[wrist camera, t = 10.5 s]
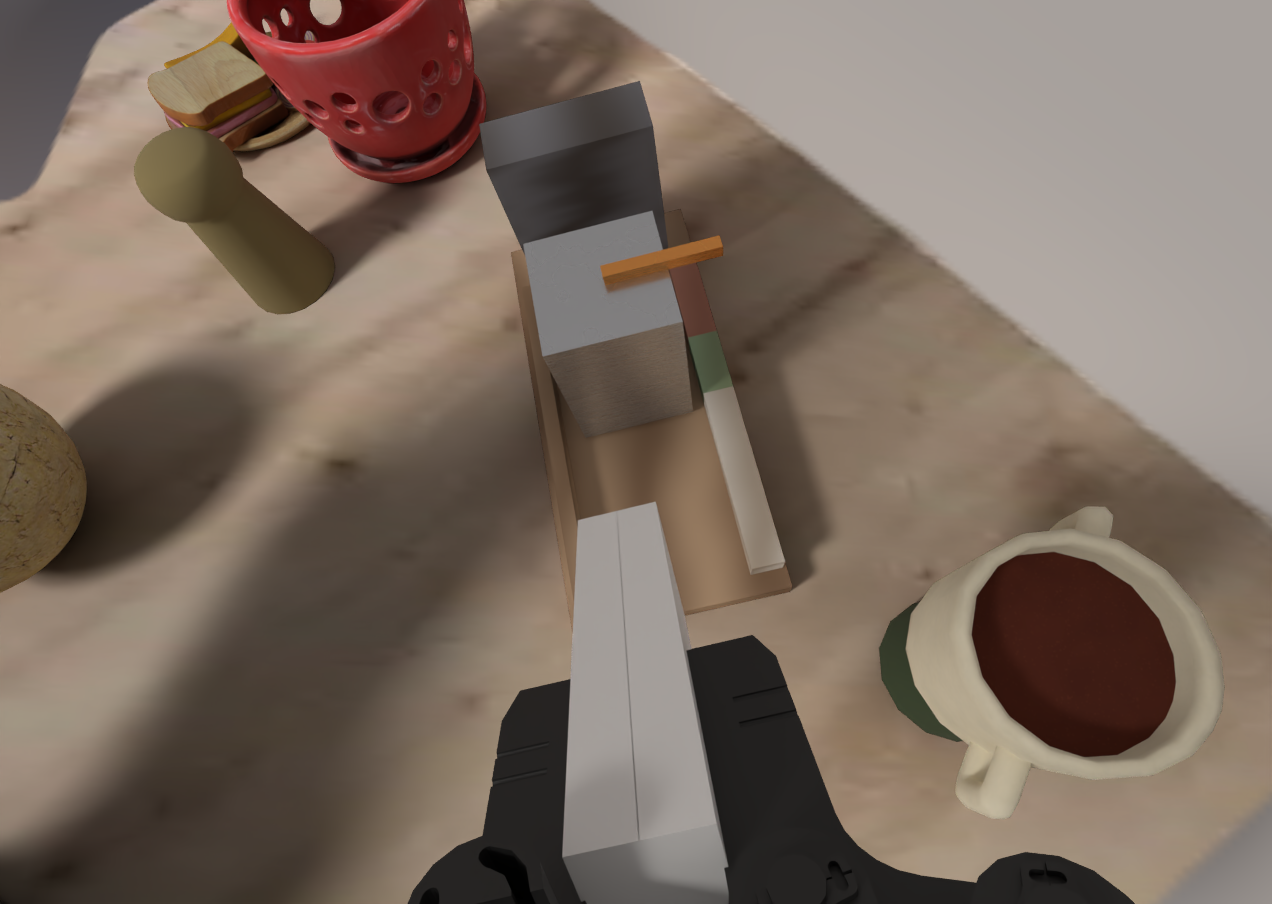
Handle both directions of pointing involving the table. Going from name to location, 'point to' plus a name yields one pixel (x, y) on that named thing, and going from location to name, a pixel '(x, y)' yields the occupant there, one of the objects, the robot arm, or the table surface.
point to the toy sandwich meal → (226, 95)
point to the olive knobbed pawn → (234, 219)
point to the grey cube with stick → (614, 321)
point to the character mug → (1056, 663)
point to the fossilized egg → (35, 488)
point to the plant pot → (375, 79)
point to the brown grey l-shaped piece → (715, 431)
